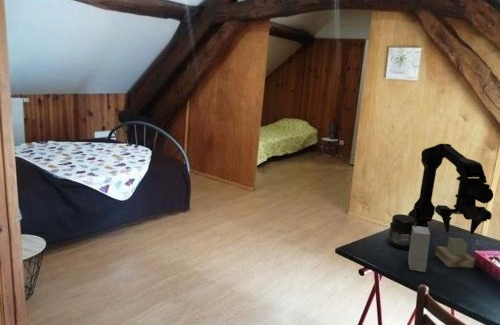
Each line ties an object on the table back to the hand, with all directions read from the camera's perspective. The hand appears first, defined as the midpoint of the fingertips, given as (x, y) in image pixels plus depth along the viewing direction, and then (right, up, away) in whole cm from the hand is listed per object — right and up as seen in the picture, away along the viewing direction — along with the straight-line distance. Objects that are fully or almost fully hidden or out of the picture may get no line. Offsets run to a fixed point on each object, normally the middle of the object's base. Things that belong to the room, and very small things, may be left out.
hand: (459, 233), depth 154 cm
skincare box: (-18, -12, -3) cm, 22 cm away
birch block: (-1, -12, +3) cm, 12 cm away
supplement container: (-17, -8, +15) cm, 24 cm away
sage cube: (0, -8, +2) cm, 8 cm away
